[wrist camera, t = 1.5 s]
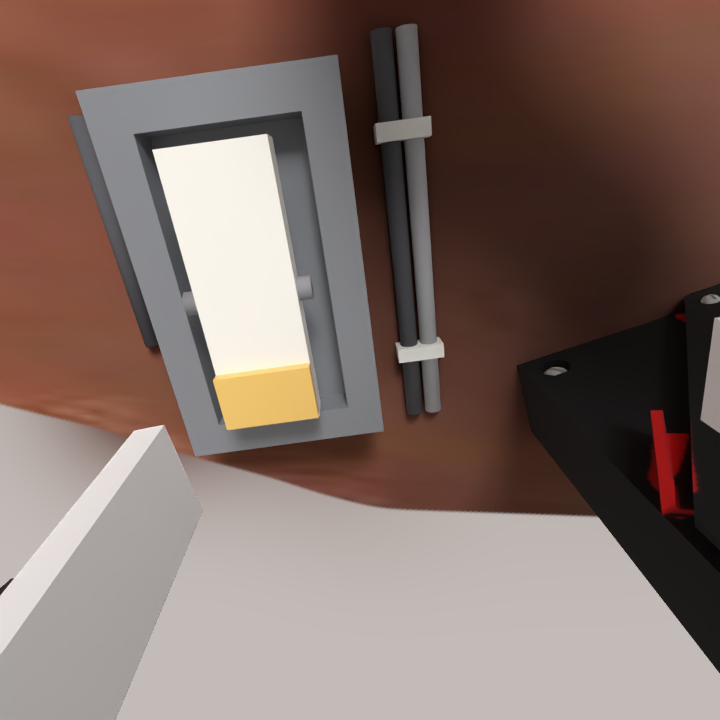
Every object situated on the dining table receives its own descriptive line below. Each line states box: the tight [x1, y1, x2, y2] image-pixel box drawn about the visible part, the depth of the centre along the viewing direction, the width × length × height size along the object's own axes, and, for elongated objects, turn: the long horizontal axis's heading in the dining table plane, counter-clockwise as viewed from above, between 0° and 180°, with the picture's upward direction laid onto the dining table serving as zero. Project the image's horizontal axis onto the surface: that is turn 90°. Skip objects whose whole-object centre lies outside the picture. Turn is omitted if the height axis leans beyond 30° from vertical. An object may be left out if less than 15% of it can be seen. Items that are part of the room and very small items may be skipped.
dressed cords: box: [370, 24, 444, 415], centre depth 28 cm, size 24×3×2 cm, turn 7°
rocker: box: [152, 134, 321, 430], centre depth 22 cm, size 14×6×2 cm, turn 7°
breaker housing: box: [76, 55, 384, 457], centre depth 26 cm, size 20×12×6 cm, turn 7°
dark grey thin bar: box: [68, 115, 159, 347], centre depth 27 cm, size 14×1×1 cm, turn 7°
